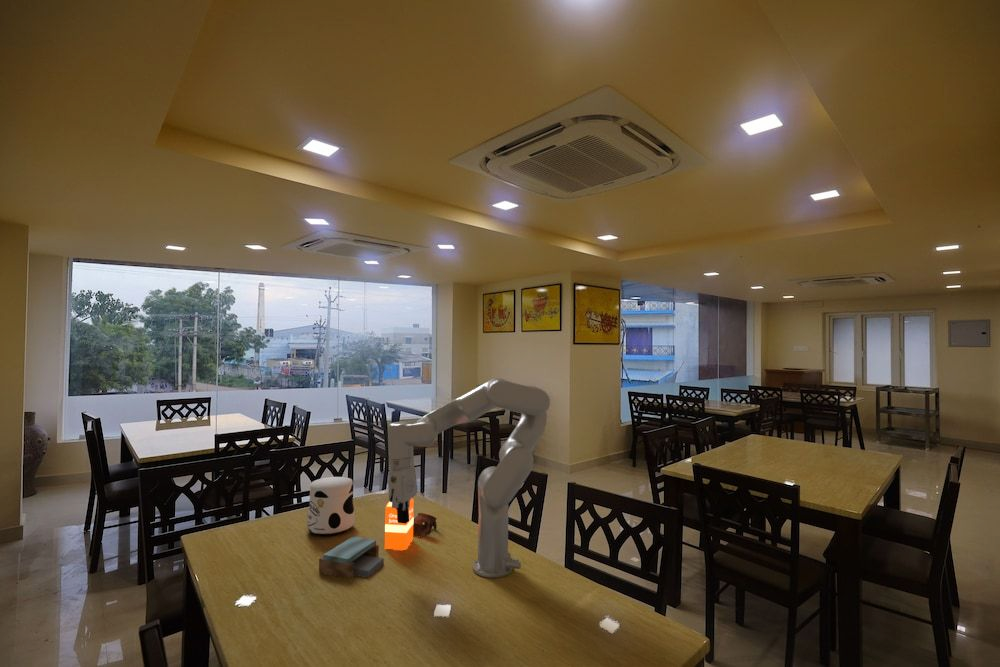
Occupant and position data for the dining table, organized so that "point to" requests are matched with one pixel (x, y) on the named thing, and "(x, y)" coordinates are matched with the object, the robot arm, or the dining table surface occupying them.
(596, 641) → the dining table surface
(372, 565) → the slate tile
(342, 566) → the shelf dock
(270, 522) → the dining table surface
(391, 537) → the orange juice
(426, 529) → the pottery mug
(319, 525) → the milk container
